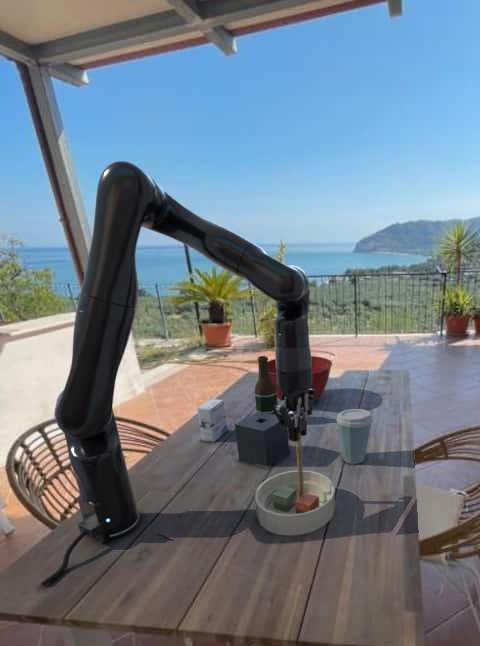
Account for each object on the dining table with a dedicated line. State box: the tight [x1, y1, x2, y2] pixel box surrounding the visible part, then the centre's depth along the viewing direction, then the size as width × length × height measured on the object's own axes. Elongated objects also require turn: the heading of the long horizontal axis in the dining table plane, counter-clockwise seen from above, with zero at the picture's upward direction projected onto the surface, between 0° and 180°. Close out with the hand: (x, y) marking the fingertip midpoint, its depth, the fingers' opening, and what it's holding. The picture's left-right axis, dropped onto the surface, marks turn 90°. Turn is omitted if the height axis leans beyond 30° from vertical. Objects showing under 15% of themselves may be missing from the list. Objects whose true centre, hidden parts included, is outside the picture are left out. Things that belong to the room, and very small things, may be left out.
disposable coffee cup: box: [336, 408, 374, 465], centre depth 114 cm, size 11×11×15 cm
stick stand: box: [234, 411, 290, 468], centre depth 115 cm, size 11×11×12 cm
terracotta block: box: [295, 492, 319, 514], centre depth 90 cm, size 4×4×4 cm
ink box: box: [197, 398, 228, 443], centre depth 129 cm, size 9×5×12 cm, turn 168°
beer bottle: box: [254, 355, 279, 415], centre depth 138 cm, size 8×8×24 cm
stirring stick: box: [291, 416, 306, 497], centre depth 91 cm, size 3×3×21 cm
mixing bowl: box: [268, 355, 333, 401], centre depth 160 cm, size 28×28×16 cm
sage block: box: [273, 486, 297, 513], centre depth 93 cm, size 4×4×4 cm
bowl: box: [254, 469, 336, 537], centre depth 92 cm, size 18×18×6 cm
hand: (298, 437), depth 89 cm, fingers closed on stirring stick, 2 cm apart
